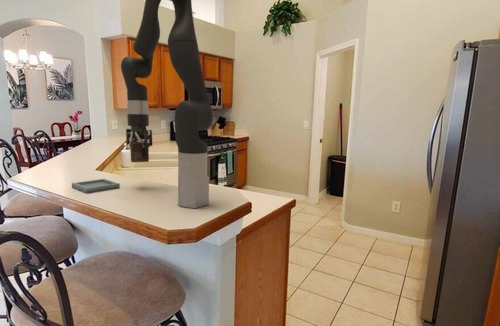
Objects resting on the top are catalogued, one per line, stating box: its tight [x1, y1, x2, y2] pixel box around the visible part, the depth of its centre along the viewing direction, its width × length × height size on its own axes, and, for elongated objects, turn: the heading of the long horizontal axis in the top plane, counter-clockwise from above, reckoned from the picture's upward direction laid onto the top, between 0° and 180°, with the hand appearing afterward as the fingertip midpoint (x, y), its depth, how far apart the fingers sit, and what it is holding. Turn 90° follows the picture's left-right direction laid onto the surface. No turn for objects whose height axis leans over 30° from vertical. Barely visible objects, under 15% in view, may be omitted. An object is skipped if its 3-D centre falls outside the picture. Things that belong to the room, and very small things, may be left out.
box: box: [129, 141, 150, 163], centre depth 119 cm, size 6×6×7 cm
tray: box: [71, 178, 121, 194], centre depth 120 cm, size 12×12×2 cm
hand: (139, 156), depth 119 cm, fingers closed on box, 7 cm apart
